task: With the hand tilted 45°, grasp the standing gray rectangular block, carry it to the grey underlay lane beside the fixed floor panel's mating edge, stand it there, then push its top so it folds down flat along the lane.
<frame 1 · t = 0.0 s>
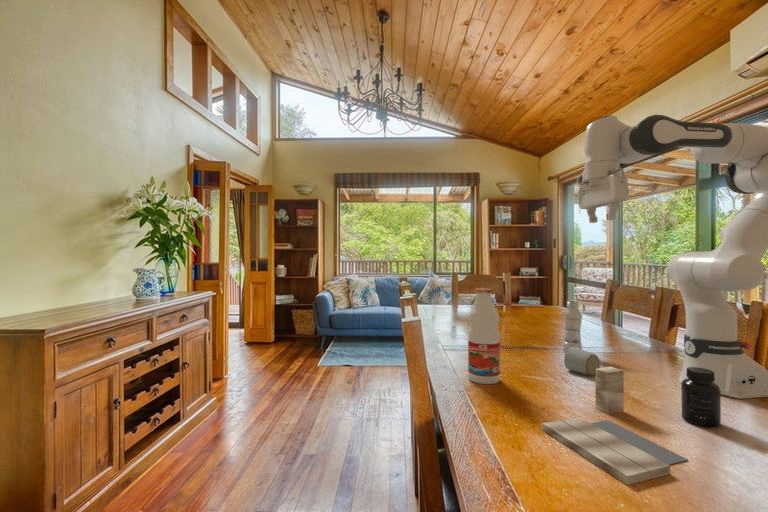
hand: (601, 221, 107), 48 cm above the table, tool pointing down, fingers open, 8 cm apart
plastic bottle: (572, 354, 140), on the table
fruit juice: (483, 380, 113), on the table
underlay: (631, 441, 76), on the table
floor panel: (599, 449, 73), on the table
gray rectangular block: (609, 410, 91), on the table
supplement bottle: (700, 423, 84), on the table
grey cylinder: (583, 372, 119), on the table
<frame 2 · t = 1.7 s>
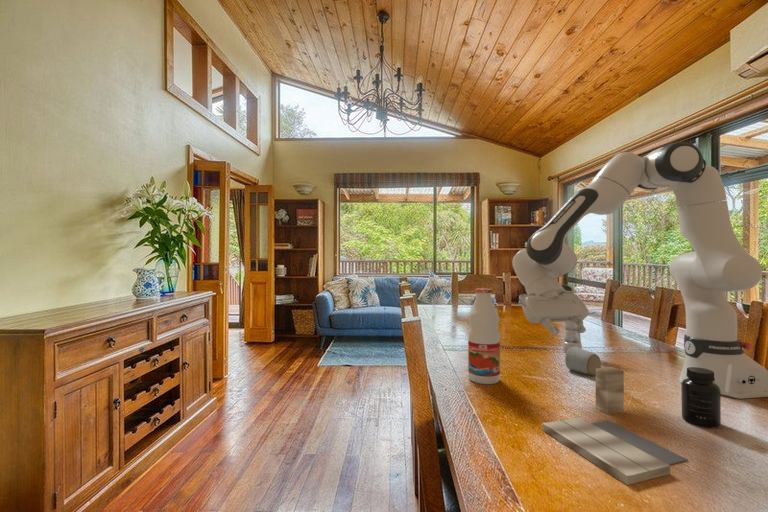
hand: (569, 332, 102), 17 cm above the table, tool tilted 45°, fingers open, 8 cm apart
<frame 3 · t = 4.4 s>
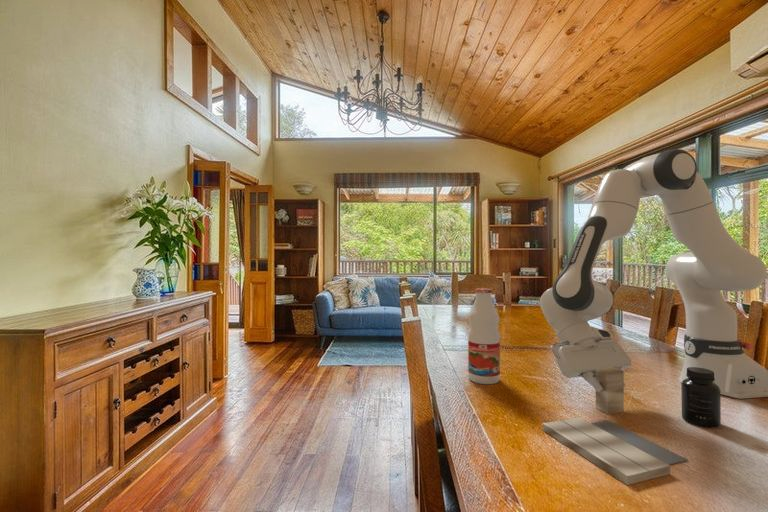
hand: (611, 389, 90), 5 cm above the table, tool tilted 45°, fingers closed on gray rectangular block, 5 cm apart
gray rectangular block: (609, 409, 91), on the table, touching gripper
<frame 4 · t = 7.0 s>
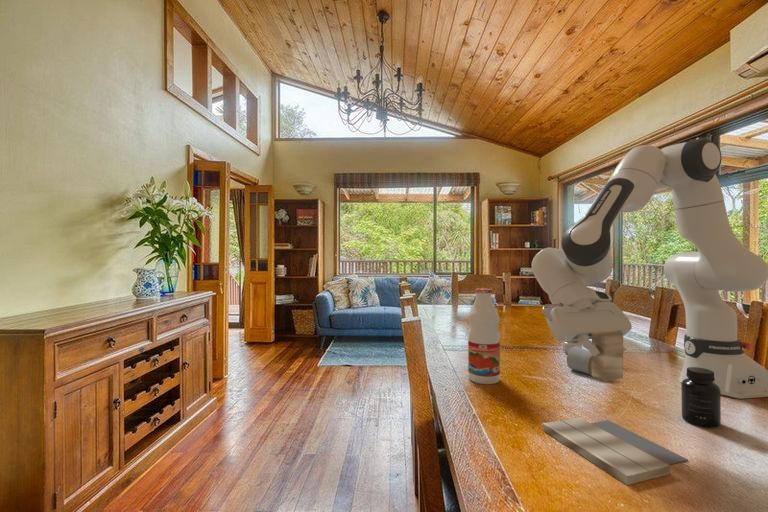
hand: (609, 353, 80), 17 cm above the table, tool tilted 45°, fingers closed on gray rectangular block, 5 cm apart
gray rectangular block: (607, 377, 81), point 11 cm above the table, touching gripper
when the fingers open (7 cm above the table, at t = 9.7 s): gray rectangular block stays where it is, resting on underlay.
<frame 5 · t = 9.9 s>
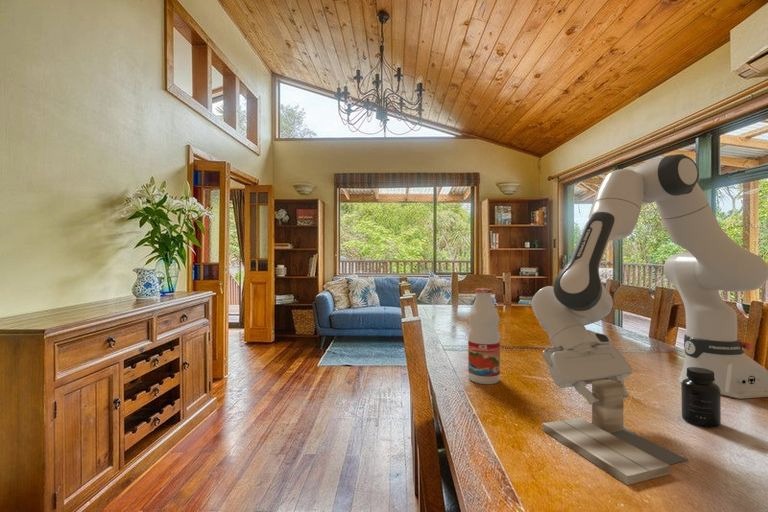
hand: (610, 400, 80), 7 cm above the table, tool tilted 45°, fingers open, 7 cm apart
gray rectangular block: (607, 427, 81), resting on underlay
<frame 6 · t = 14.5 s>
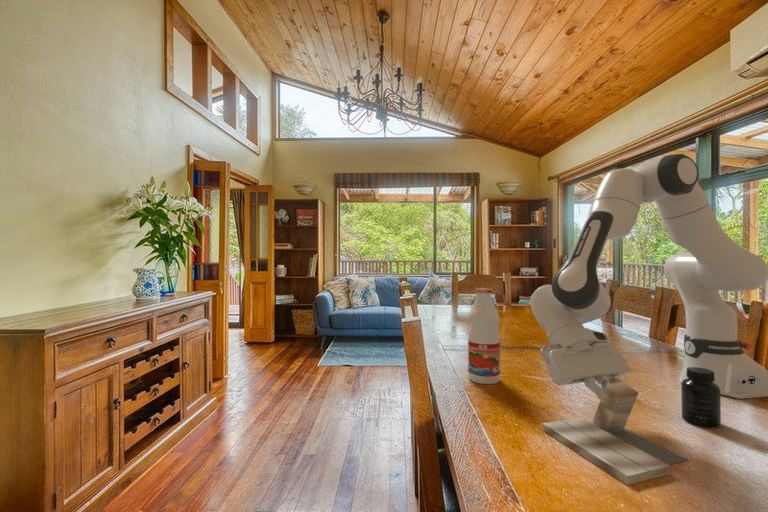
hand: (607, 398, 81), 7 cm above the table, tool tilted 45°, fingers closed
gray rectangular block: (608, 425, 81), point 1 cm above the table, tilted 20°, touching underlay
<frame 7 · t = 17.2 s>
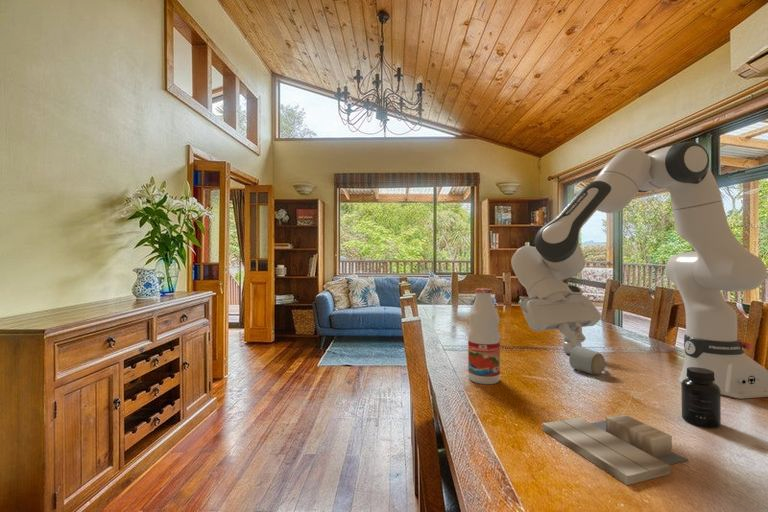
hand: (579, 341, 88), 18 cm above the table, tool tilted 45°, fingers closed
gray rectangular block: (614, 423, 79), point 2 cm above the table, tilted 90°, touching underlay
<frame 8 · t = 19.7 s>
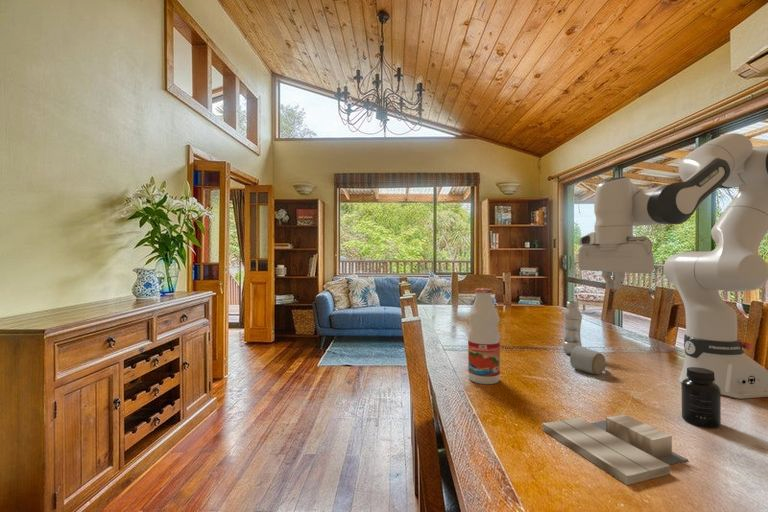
hand: (613, 288, 99), 29 cm above the table, tool pointing down, fingers closed
at the end: gray rectangular block tilted 90°; gray rectangular block inside the target area (2.9 cm from its centre), point 1.9 cm above the table; the gripper is holding nothing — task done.
